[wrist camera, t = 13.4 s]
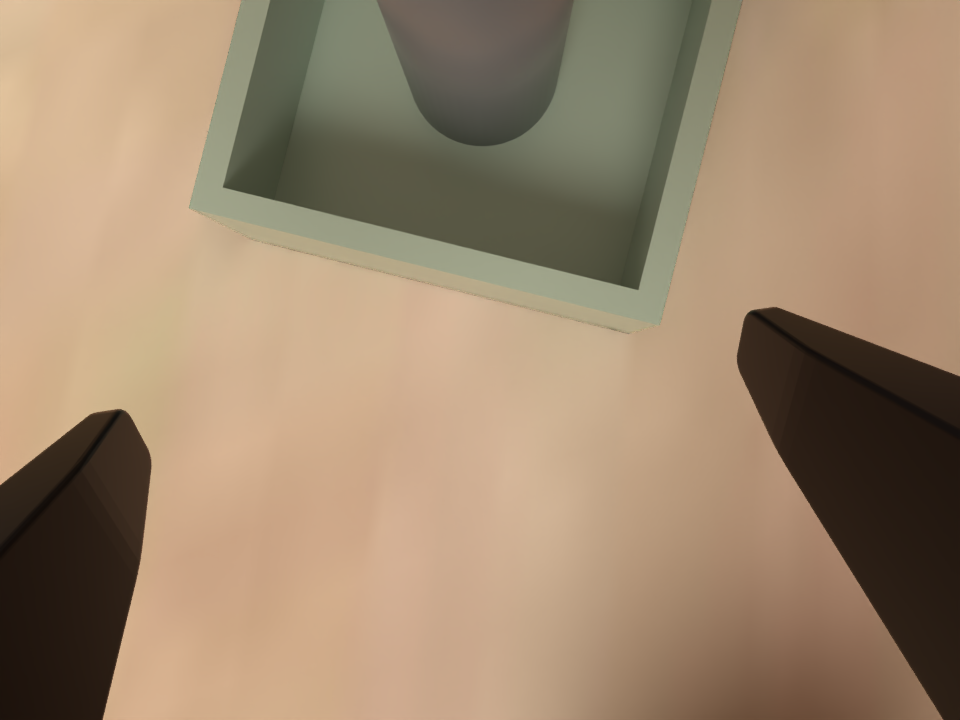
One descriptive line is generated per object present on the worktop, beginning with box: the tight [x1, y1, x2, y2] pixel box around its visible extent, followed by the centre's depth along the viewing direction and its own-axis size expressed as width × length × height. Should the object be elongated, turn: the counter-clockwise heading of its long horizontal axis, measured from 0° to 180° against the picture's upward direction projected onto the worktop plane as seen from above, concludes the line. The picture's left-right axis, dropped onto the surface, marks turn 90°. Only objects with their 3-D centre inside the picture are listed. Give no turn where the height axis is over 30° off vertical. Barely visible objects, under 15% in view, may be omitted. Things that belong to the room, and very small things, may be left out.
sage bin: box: [189, 0, 742, 334], centre depth 20 cm, size 14×14×4 cm
